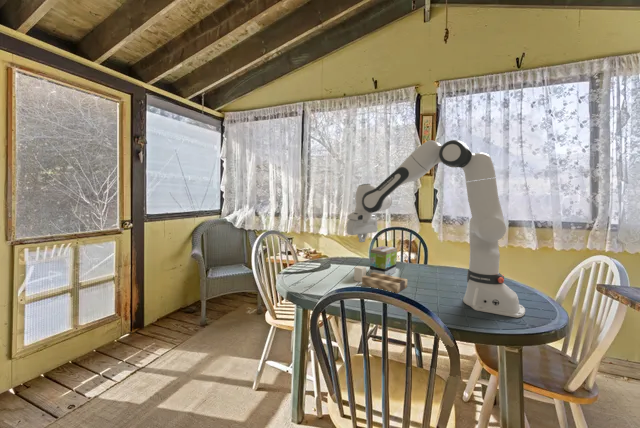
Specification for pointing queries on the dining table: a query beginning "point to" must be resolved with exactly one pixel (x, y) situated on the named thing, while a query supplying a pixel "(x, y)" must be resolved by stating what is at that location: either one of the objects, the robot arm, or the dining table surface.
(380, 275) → the trough
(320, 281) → the dining table surface
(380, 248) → the tea box
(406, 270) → the dining table surface
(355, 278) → the block
